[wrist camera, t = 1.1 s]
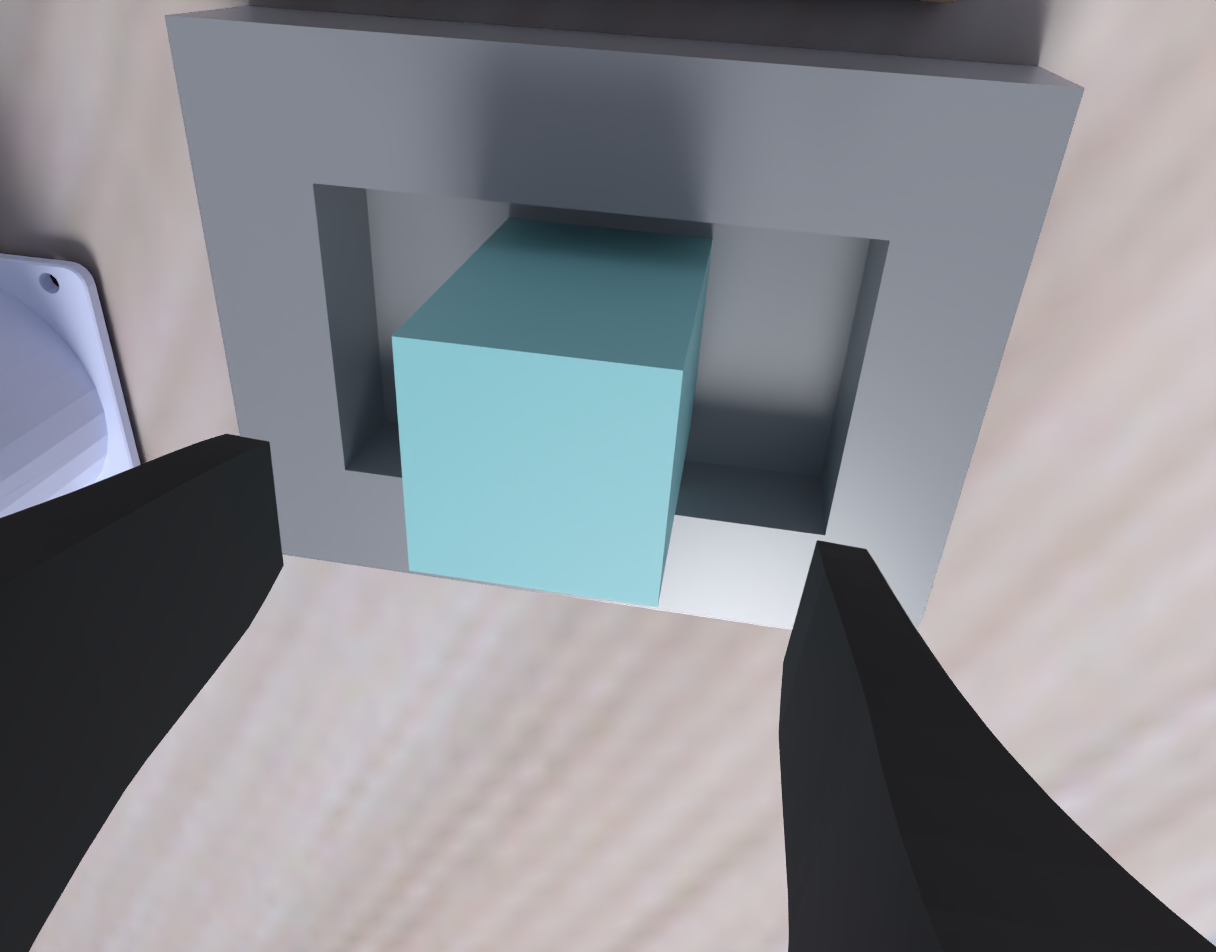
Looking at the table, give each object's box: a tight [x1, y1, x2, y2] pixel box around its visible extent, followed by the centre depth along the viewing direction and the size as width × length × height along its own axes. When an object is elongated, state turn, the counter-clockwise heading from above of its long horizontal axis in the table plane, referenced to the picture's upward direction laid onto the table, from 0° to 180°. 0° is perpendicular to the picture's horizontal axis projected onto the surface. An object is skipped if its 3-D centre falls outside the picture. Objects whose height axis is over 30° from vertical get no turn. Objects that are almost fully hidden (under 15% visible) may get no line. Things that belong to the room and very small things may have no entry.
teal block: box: [392, 218, 713, 607], centre depth 18 cm, size 4×4×7 cm
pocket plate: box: [165, 6, 1084, 631], centre depth 20 cm, size 16×12×3 cm
